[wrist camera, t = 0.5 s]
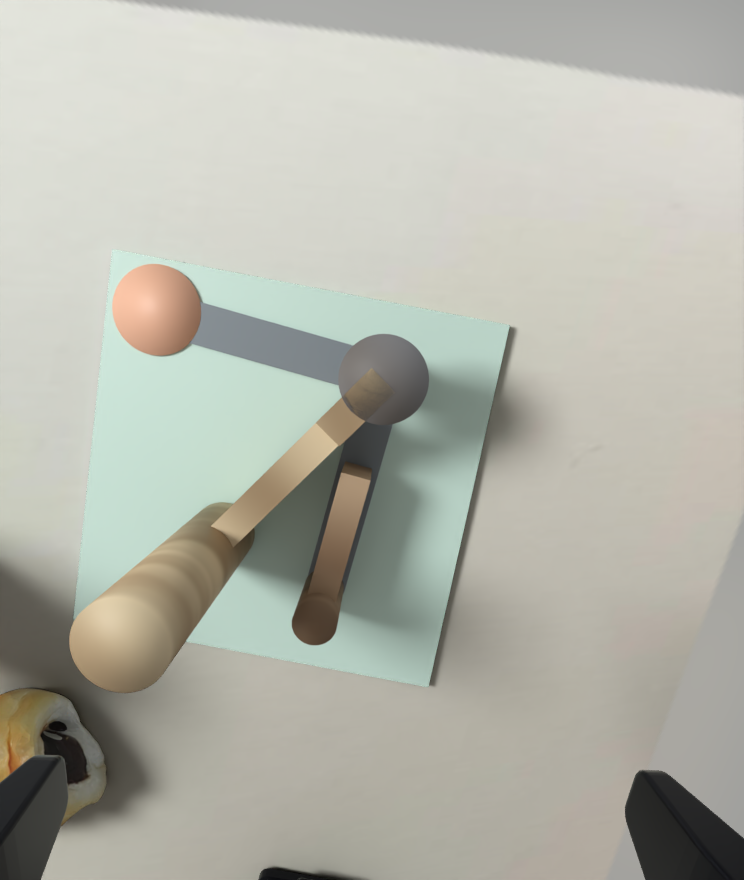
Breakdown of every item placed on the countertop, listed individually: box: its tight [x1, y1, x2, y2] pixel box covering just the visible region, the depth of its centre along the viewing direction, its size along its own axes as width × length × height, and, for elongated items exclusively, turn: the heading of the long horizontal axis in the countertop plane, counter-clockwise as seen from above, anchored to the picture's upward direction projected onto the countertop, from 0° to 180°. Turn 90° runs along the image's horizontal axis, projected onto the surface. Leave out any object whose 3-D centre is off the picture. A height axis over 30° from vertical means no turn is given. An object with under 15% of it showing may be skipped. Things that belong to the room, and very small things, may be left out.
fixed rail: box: [292, 461, 372, 645], centre depth 22 cm, size 12×2×4 cm, turn 164°
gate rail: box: [69, 334, 429, 693], centre depth 19 cm, size 13×3×10 cm, turn 134°
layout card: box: [73, 249, 510, 687], centre depth 24 cm, size 17×17×1 cm
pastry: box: [0, 688, 107, 827], centre depth 25 cm, size 9×7×4 cm
